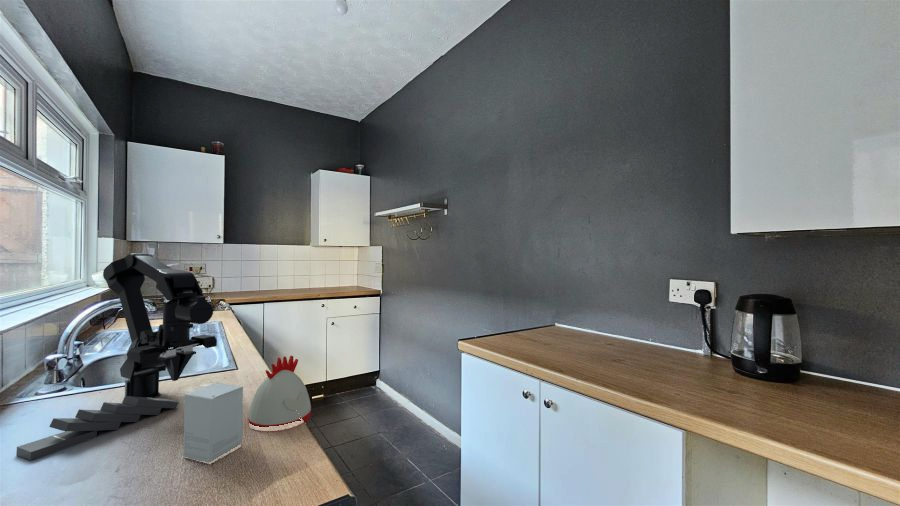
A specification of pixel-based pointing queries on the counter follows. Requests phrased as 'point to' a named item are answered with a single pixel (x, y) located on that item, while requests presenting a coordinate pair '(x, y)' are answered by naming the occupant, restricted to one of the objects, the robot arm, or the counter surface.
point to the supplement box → (212, 421)
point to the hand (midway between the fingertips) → (174, 380)
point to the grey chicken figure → (280, 397)
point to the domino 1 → (53, 443)
